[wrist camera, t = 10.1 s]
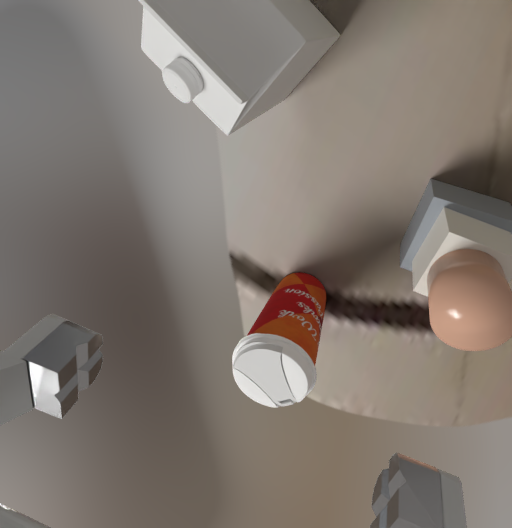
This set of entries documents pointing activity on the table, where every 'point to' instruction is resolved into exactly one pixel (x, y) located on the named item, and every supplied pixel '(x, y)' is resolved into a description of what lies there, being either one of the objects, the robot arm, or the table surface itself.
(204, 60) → the milk carton
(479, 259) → the peach rounded cylinder
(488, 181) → the table surface
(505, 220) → the tower base block
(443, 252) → the tower top block
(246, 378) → the paper cup
